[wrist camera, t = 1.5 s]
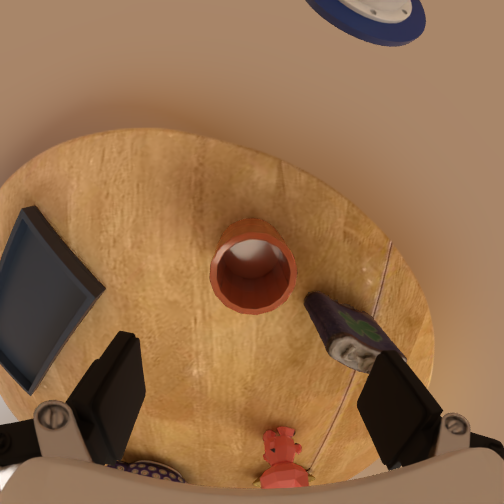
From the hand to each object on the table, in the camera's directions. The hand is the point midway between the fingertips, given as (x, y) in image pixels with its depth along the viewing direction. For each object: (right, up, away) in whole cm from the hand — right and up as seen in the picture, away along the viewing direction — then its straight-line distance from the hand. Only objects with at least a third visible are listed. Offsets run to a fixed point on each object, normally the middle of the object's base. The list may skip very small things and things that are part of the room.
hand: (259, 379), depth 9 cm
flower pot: (0, +5, +17) cm, 18 cm away
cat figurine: (+3, -22, +24) cm, 33 cm away
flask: (+9, -2, +19) cm, 21 cm away
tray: (-32, -4, +18) cm, 37 cm away
